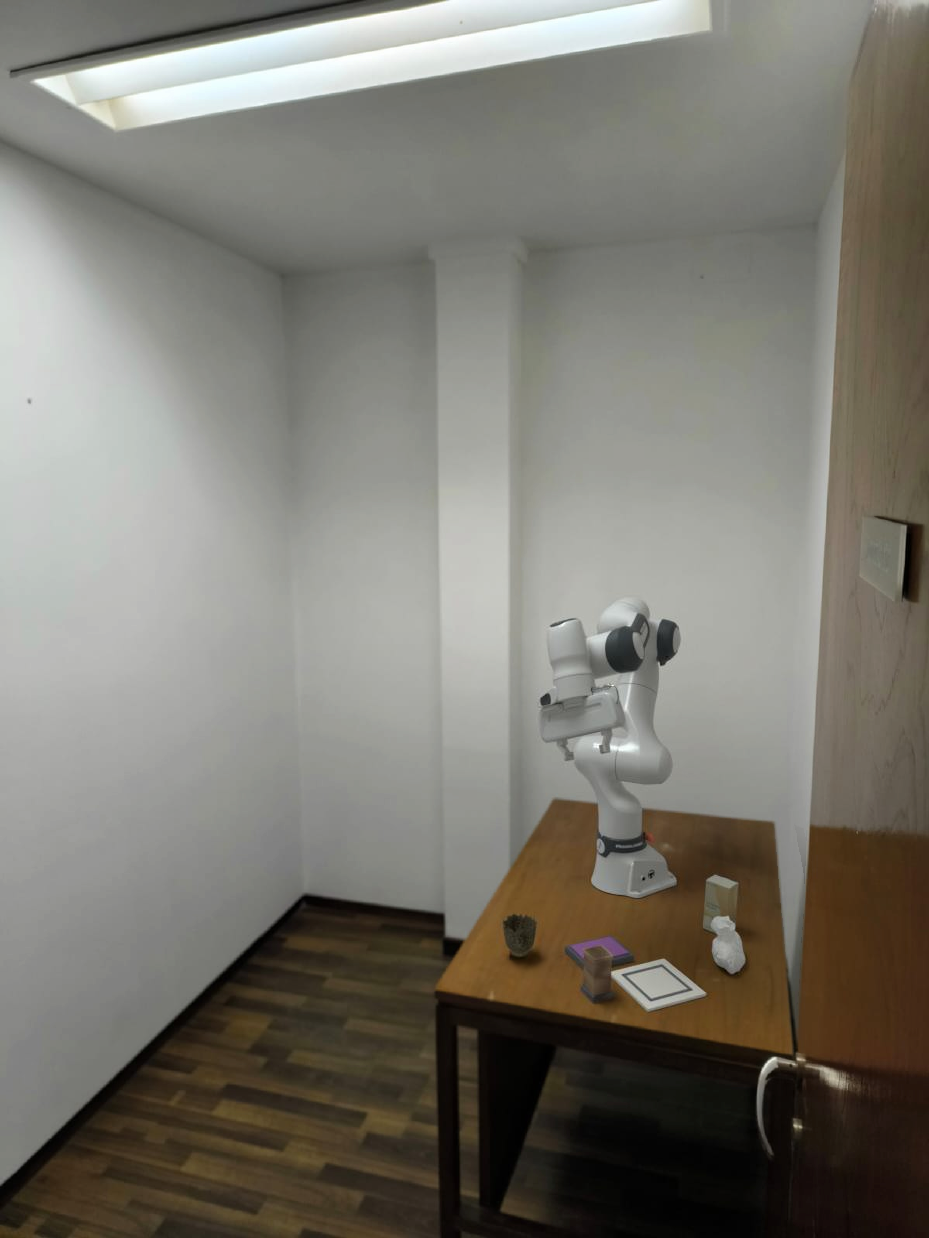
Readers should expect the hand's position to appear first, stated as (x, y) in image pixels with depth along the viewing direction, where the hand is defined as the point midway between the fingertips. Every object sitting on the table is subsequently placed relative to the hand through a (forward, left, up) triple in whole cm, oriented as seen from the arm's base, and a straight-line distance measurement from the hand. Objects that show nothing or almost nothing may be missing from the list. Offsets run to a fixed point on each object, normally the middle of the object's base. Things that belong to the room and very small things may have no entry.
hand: (587, 756), depth 170 cm
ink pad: (-4, -1, -46) cm, 46 cm away
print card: (-9, +13, -46) cm, 49 cm away
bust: (-28, +12, -46) cm, 56 cm away
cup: (+12, -8, -46) cm, 48 cm away
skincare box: (-36, 0, -46) cm, 59 cm away
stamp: (+4, +11, -46) cm, 47 cm away
